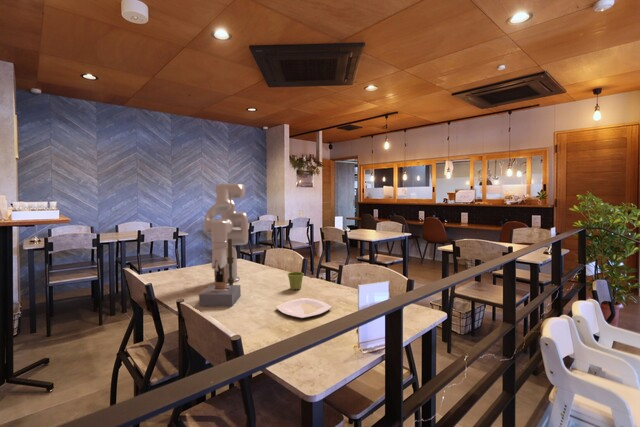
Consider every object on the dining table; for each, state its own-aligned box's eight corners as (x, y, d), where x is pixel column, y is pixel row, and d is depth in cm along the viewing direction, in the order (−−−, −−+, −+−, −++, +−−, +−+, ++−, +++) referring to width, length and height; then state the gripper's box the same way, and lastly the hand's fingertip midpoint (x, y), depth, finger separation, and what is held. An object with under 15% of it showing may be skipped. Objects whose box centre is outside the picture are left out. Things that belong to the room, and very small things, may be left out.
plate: (269, 310, 159) (269, 306, 159) (305, 299, 175) (305, 295, 175) (301, 324, 143) (301, 320, 143) (338, 310, 159) (338, 306, 159)
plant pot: (284, 289, 191) (284, 274, 190) (293, 285, 199) (293, 271, 199) (298, 292, 187) (298, 276, 186) (306, 287, 195) (306, 272, 194)
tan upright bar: (216, 294, 173) (215, 267, 172) (226, 293, 172) (225, 266, 172) (215, 295, 170) (214, 268, 169) (225, 295, 170) (224, 267, 169)
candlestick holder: (224, 293, 184) (223, 239, 181) (221, 289, 192) (219, 237, 190) (241, 291, 188) (240, 237, 186) (237, 287, 196) (236, 235, 194)
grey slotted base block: (210, 296, 180) (210, 283, 180) (240, 296, 180) (240, 283, 179) (199, 306, 164) (199, 293, 164) (232, 306, 164) (231, 293, 163)
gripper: (217, 242, 178) (218, 277, 179) (206, 247, 162) (207, 285, 163) (231, 242, 178) (232, 277, 179) (222, 247, 162) (222, 285, 163)
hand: (220, 280), depth 171 cm, fingers closed on tan upright bar, 2 cm apart
